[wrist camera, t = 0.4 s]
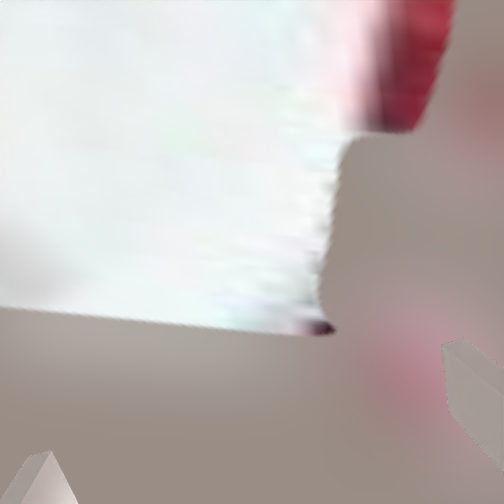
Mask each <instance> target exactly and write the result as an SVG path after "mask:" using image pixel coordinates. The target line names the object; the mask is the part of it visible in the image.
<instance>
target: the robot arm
mask: <svg viewBox="0 0 504 504" xmlns="http://www.w3.org/2000/svg"><path fill="white" fill-rule="evenodd" d="M442 354H443V363H444V372H445V381H446V390H447V400H448V408H449V413H450V414H451V415H452V416H453V417H454V418H455V420H456V421H457V422H458V423H459V424H460V425H461V426H462V427H463V428H464V430H465V431H466V432H467V433H468V434H469V435H470V436H471V437H472V439H473V440H474V441H475V442H476V443H477V444H478V445H479V446H480V447H481V448H482V450H483V451H484V452H485V453H486V454H487V455H488V456H489V457H490V459H491V460H492V461H493V462H494V463H495V464H496V465H497V466H498V467H499V469H500V470H501V471H502V472H503V473H504V368H503V367H502V366H500V365H499V364H497V363H496V362H495V361H493V360H492V359H491V358H489V357H488V356H487V355H485V354H484V353H483V352H481V351H480V350H479V349H477V348H476V347H474V346H473V345H472V344H471V343H469V342H468V341H466V340H465V339H460V340H456V341H452V342H449V343H445V344H442ZM0 504H78V502H77V500H76V498H75V496H74V494H73V492H72V490H71V488H70V486H69V484H68V482H67V480H66V478H65V476H64V475H63V472H62V471H61V469H60V467H59V465H58V463H57V461H56V459H55V457H54V455H53V453H52V451H47V452H44V453H40V454H36V455H32V456H29V457H27V459H26V461H25V462H24V464H23V466H22V467H21V469H20V470H19V471H18V473H17V475H16V476H15V478H14V479H13V481H12V482H11V484H10V485H9V487H8V489H7V490H6V492H5V493H4V495H3V496H2V498H1V499H0Z"/></svg>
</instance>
